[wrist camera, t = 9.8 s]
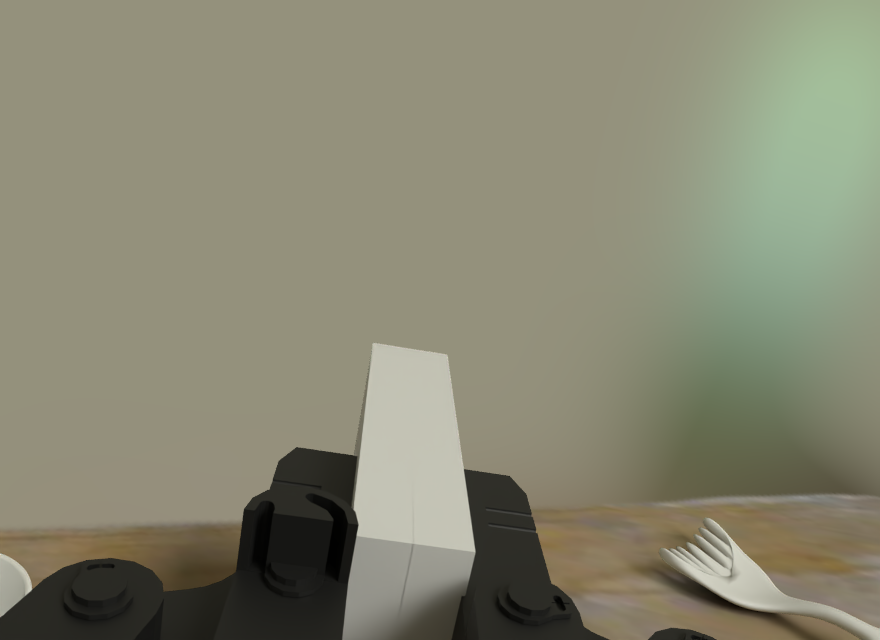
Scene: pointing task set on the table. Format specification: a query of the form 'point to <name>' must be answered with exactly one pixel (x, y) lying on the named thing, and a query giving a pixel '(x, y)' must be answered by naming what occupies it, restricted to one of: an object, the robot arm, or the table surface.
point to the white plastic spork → (749, 581)
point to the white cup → (12, 583)
